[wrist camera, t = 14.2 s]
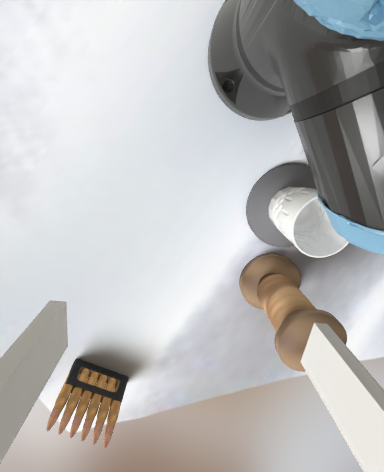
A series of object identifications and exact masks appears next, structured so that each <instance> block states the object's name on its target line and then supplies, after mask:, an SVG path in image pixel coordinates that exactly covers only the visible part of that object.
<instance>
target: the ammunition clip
mask: <svg viewBox="0 0 384 472" xmlns="http://www.w3.org/2000/svg"><path fill="white" fill-rule="evenodd" d="M79 374H80V375H79ZM78 376H79V377H78ZM88 377H89V378H88ZM77 378H78V379H77ZM87 380H88V381H87ZM97 380H98V381H97ZM127 381H128V377H127V376H124V375H121V374H119V373H116V372H113V371H110V370H107V369H105V368H102V367H99V366H96V365H94V364H91V363H88V362H85V361H82V360H80V359H76V360H75V361H74V363H73V365H72V368H71V370H70V372H69V375H68V377H67V379H66V381H65V383H64V385H63V387H62V389H61V391H60V393H59V396H58V398H57V400H56V403H55V406H54V408H53V411H52V413H51V415H50V418H49V421H48V425H47V431H49V430H50V429H51V427H52V426H53V425H54V423H55V422H56V420H57V419H58V417H59V415H60V413H61V411H62V409H63V407H64V406H65V404H66V402H67V400H68V398H69V400H68V402H67V405H66V409H65V411H64V415H63V417H62V419H61V422H60V426H59V434H61V433H62V432H63V430H64V429H65V428H66V426H67V424H68V422H69V420H70V418H71V416H72V414H73V412H74V410H75V408H76V407H77V410H76V414H75V417H74V420H73V423H72V427H71V431H70V437H71V438H72V437H73V436H74V434H75V433H76V431H77V430H78V428H79V425H80V423H81V421H82V418H83V416H84V414H85V412H86V410H87V408H88V410H87V415H86V419H85V423H84V426H83V430H82V436H81V437H82V438H81V440H82V441H84V439H85V438H86V436H87V435H88V433H89V431H90V428H91V425H92V423H93V420H94V418H95V416H96V414H97V411H98V408H99V405H100V408H99V411H98V414H97V421H96V425H95V429H94V434H93V445H94V444H95V443H96V441H97V440H98V438H99V436H100V434H101V431H102V427H103V425H104V422H105V419H106V417H107V415H108V418H107V426H106V431H105V435H104V447H105V448H106V447H107V445H108V443H109V441H110V439H111V436H112V433H113V429H114V426H115V423H116V421H117V418H118V413H119V409H120V405H121V402H122V399H123V395H124V392H125V388H126V385H127ZM86 382H87V383H86ZM96 383H97V384H96ZM106 383H107V385H106ZM105 386H106V388H105ZM114 389H115V391H114ZM93 392H94V393H93ZM70 394H71V395H70ZM69 396H70V397H69ZM80 397H81V399H80ZM79 399H80V401H79ZM90 400H91V401H90ZM78 402H79V404H78ZM89 402H90V404H89ZM100 402H101V404H100ZM77 404H78V406H77ZM88 405H89V407H88ZM109 407H110V410H109ZM108 411H109V414H108Z"/></svg>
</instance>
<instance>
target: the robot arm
mask: <svg viewBox="0 0 384 472" xmlns="http://www.w3.org/2000/svg"><path fill="white" fill-rule="evenodd" d="M208 65H209V72H210V77H211V80H212V83H213V86H214V88H215V90H216V92H217V94H218V95H219V97H220V98H221V100H222V101H223V102H224V103H225V105H226V106H227V107H228V108H230V109H231V110H232V111H233V112H235V113H236V114H238V115H240V116H242V117H245V118H248V119H251V120H260V121H263V120H271V119H275V118H278V117H281V116H284V115H287V114H289V113H291V112H292V115H293V118H294V122H295V125H296V127H297V130H298V133H299V136H300V139H301V142H302V145H303V148H304V151H305V154H306V157H307V160H308V163H309V166H310V169H311V173H312V176H313V179H314V182H315V185H316V188H317V191H318V199H319V202H320V204H321V205H322V207H323V208H324V209H325V210H326V213H327V215H328V218H329V220H330V223H331V225H332V227H333V228H334V230H335V231H336V232H337V234H339V235H340V236H342V237H343V238H345V239H346V241H348V242H349V243H351V244H353V245H355V246H357V247H359V248H362V249H365V250H368V251H371V252H375V253H379V254H384V0H226V1H225V2H224V4H223V5H222V7H221V9H220V11H219V13H218V15H217V17H216V20H215V23H214V26H213V29H212V33H211V37H210V41H209V48H208ZM67 346H68V339H67V308H66V302H62V301H50V302H49V303H48V304H47V305H46V306H45V307H44V309H43V310H42V311H41V312H40V313H39V314H38V315H37V317H36V318H35V319H34V320H33V321H32V322H31V324H30V325H29V326H28V327H27V328H26V329H25V331H24V332H23V333H22V334H21V335H20V336H19V338H18V339H17V340H16V341H15V342H14V343H13V345H12V346H11V347H10V348H9V349H8V350H7V351H6V353H5V354H4V355H3V356H2V357H1V358H0V463H1V461H2V460H3V458H4V456H5V454H6V453H7V451H8V449H9V447H10V446H11V444H12V442H13V440H14V439H15V437H16V435H17V434H18V432H19V430H20V428H21V426H22V425H23V423H24V421H25V419H26V418H27V416H28V414H29V412H30V411H31V409H32V407H33V406H34V404H35V402H36V400H37V399H38V397H39V395H40V393H41V392H42V390H43V388H44V386H45V385H46V383H47V381H48V379H49V378H50V376H51V374H52V372H53V371H54V369H55V367H56V365H57V364H58V362H59V360H60V358H61V357H62V355H63V353H64V351H65V350H66V348H67ZM301 364H302V365H303V367H304V369H305V371H306V372H307V374H308V376H309V378H310V379H311V381H312V383H313V385H314V386H315V388H316V390H317V391H318V393H319V395H320V397H321V398H322V400H323V402H324V404H325V405H326V407H327V409H328V411H329V412H330V414H331V416H332V418H333V419H334V421H335V423H336V425H337V426H338V428H339V430H340V432H341V433H342V435H343V437H344V438H345V440H346V442H347V444H348V445H349V447H350V449H351V451H352V453H353V454H354V456H355V458H356V459H357V461H358V463H359V465H360V467H361V468H362V470H363V472H384V390H383V388H382V387H381V386H380V385H379V384H378V383H377V381H376V380H375V379H374V378H373V377H372V376H371V374H370V373H369V372H368V371H367V370H366V369H365V367H364V366H363V365H362V364H361V363H360V361H359V360H358V359H357V358H356V357H355V356H354V354H353V353H352V352H351V351H350V350H349V349H348V347H347V346H346V345H345V344H344V343H343V342H342V340H341V339H340V338H339V337H338V336H337V335H336V333H335V332H334V331H333V330H332V329H331V328H330V326H329V325H328V324H323V323H314V325H313V327H312V330H311V333H310V336H309V339H308V342H307V345H306V347H305V350H304V353H303V356H302V359H301Z"/></svg>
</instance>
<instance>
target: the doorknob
mask: <svg viewBox="0 0 384 472" xmlns="http://www.w3.org/2000/svg"><path fill="white" fill-rule="evenodd" d="M300 281H301V280H300V273H299V271H298V269H297V267H296V266H295V265H294V264H293V263H292V262H291V261H290V260H289V259H288V258H286V257H284V256H282V255H279V254H264V255H261V256H258V257H256V258H254V259H253V260H251V261H250V262H249V263H248V264H247V265H246V266H245V268H244V269H243V271H242V273H241V276H240V289H241V291H242V294H243V296H244V298H245V299H246V301H247V302H248V303H249V304H250V305H252V306H254V307H256V308H258V309H263V310H265V312H266V314H267V316H268V318H269V320H270V322H271V323H272V325H273V327H274V329H275V331H276V336H275V347H276V350H277V352H278V354H279V356H280V358H281V360H282V362H283V363H284V364H285V365H286V366H288V367H289V368H291V369H294V370H297V371H305V369H304V367H303V365H302V364H301V359H302V356H303V353H304V350H305V347H306V345H307V342H308V339H309V336H310V333H311V330H312V327H313V325H314V323H323V324H328V325H329V326H330V328H331V329H332V330H333V331H334V332H335V333H336V335H337V336H338V337H339V338H340V339H341V340H342V342H343V343H344V344H345V345H346V342H347V335H346V331H345V329H344V327H343V326H342V324H341V323H340V322H339V321H338V320H337V319H336V318H335V317H334V316H333V315H332V314H330V313H328V312H326V311H323V310H317V309H316V308H315V307H314V306H313V305H312V304H311V302H310V301H309V300H308V299H307V298H306V297H305V295H304V294H303V293H302V292H301V291H300V290H299V287H300Z"/></svg>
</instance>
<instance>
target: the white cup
mask: <svg viewBox="0 0 384 472" xmlns="http://www.w3.org/2000/svg"><path fill="white" fill-rule="evenodd" d="M268 209H269V218H270V219H271V221H272V222H273V224H274V225H275V226H276V227H277V228H278V230H279V231H280V232H281V233H282V234H283V235H284V236H285V237H286V238H287V239H288V240H289V241H290V242H291V243H292V244H293V245H294V246H295V247H296V248H298V249H299V250H300V251H301V252H302V253H304V254H305V255H308V256H310V257H316V258H321V257H327V256H331V255H333V254H335V253H337V252H339V251H341V250H342V249H343V248H344V247H346V246H347V245H348V244H349V242H348V241H346V239H345V238H343V237H342V236H340V235H339V234H337V232H336V231H335V230H334V228H333V227H332V225H331V223H330V220H329V218H328V215H327V213H326V210H325V209H324V208H323V207H322V205H321V204H320V202H319V199H318V191H317V189H311V188H304V187H286V188H284V189H282V190H279V191H278V192H277V193H276V194H275V195H274V196H273V197H272V199H271V202H270V204H269V207H268Z"/></svg>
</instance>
